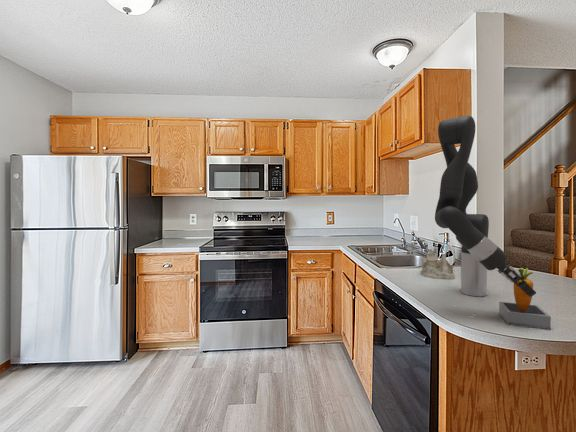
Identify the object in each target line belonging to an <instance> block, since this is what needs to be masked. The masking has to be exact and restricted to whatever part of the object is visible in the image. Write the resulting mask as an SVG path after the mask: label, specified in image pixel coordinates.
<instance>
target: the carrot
mask: <svg viewBox="0 0 576 432" xmlns="http://www.w3.org/2000/svg"><path fill="white" fill-rule="evenodd" d="M517 270H518V272H519V274H520V275H521V278H522V279H523V280H524V281H526V283H527V284H528V285H529V286H530V287H531V288H532V289H533V290H534V282H533V281H532V280H531V279H529V278H528V277H529V276H530V275H532V274H534V272H533V271H529V268H525V269H524V268H523V267H520V268H518V269H517ZM520 282H522V281H521V280H519V281H518V282H517V283H518V284H519V283H520ZM513 296H514V301H515V303H516V304H517V307H518V309H519V311H520V312H521V313H525V312H526V310H527V309H528V307H529V305H531V302H532V299H533V296H532V297H530V296H529V295H527V294H526V293H525V292H524V291H523V290H522V289H521V288H519V287H517V285H516V284H515V283H513Z"/></svg>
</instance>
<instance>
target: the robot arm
mask: <svg viewBox="0 0 576 432" xmlns="http://www.w3.org/2000/svg"><path fill="white" fill-rule="evenodd" d="M437 134H438V135H437V136H438V139H439V140H438V141H439V143H440V147H441V150H442V153H443V157H444V160H445V165H446V168H445V170H444V171H443V173H442V175H441V179H440V186H439V197H438V199H437V200H438V201H437V204H436V208H435V213H434V222H435V224H436V225H437V226H438V227H440V228H442V229H449V231H451V233H453V234H454V235H455V239H456V241H457V242H458V243H459V244H461V248H460V249H461V253H460V254H461V257H460V258H461V261H460V292H461V294H463V295H466V296H472V297H486V296H487V290H488V289H487V287H488V271H494V270H495V269H497V272H498V273H499V274H500V275H501V276H503V277H505V279H507V280H508V281H509V282H510V283H512V284H514V283H515V284H516V285H517V287H519V288H521V289H522V290H523V291H524V292H525V293H526V294H527V295H529V296H530V297H532V298H533V296H535V295H537V292H536V290H534V288H533V289H532V288H531V287H530V286H529V285H528V284H527V283H526V281H524V280H523V279H522V278H521V275H520V273H518V272H517V271H516V270H515V268H514V267H513V266H512V265H511V264H509V263H508V262H507V263H505V262H506V261H507V260H508V258H509V256H508V254H507V253H505V251H503V250H502V249H501V248H500V247H499V246H498V245H497V244H496V243H495V242H493V241H492V240H491V239H490V238H489V227H490V226H489V225H490V223H489V221H490V220H489V217H488V215H486V214H484V213H483V214H482V213H480V214H479V213H478V214H477V213H468V212H467V207H468V205H469V204H470V202H471V201H472V200H473V198H474V197H475V195H476V193H477V192H478V189H479V181H478V176H477V172H476V170H475V168H474V167H473V165H472V164H470V163H469V159H470V156H471V152H472V148H473V144H474V140H475V135H476V122H475V118H474V117H473V116H471V115H463V116H456V117H452V118H447V119H442V120H441V121H439V123H438V126H437ZM455 145H459V148H458V150H457V147H456V146H455ZM519 280H521V281H522V282H520V283H519V284H518V283H517V282H518V281H519Z"/></svg>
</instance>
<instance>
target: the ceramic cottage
mask: <svg viewBox="0 0 576 432" xmlns="http://www.w3.org/2000/svg"><path fill="white" fill-rule="evenodd" d="M425 254H426V255H425V257H423V258H422V269H421V270H420V275H421V276H423V277H424V278H430V279H435V280H436V279H437V280H448V281H449V280H451V281H452V280H455V279H456V276H455V274H454V267H453V266H452V264H450V263H449V261H448V260H447V254H446V253H443V252H442V253H441V257H440V258H439V259H438V253H437V252H434V250H433V249H432V248H430V249H429V252H426V253H425Z"/></svg>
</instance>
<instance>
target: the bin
mask: <svg viewBox="0 0 576 432" xmlns="http://www.w3.org/2000/svg"><path fill="white" fill-rule="evenodd" d="M498 304H499V305H498V306H499V307H498V313H499V314H500V317H501V318H502V319H503V320H504V321H505V323H506V325H509V326H510V325H511V326H517V327H524V328H525V327H527V328H533V329H541V330H543V329H544V330H549V331H550V330H551V319H552V318H551V317H552V316H551V315H550V314H548V313H547V312H546V311H545V310H544V309H543V308H541V307H540V306H539V305H538V304H530V305H529V307H528V309H527V310H526V312H525V313H521V312H520V311H519V309H518V307H517V304H516V302H510V301H509V302H507V301H499V302H498Z"/></svg>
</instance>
